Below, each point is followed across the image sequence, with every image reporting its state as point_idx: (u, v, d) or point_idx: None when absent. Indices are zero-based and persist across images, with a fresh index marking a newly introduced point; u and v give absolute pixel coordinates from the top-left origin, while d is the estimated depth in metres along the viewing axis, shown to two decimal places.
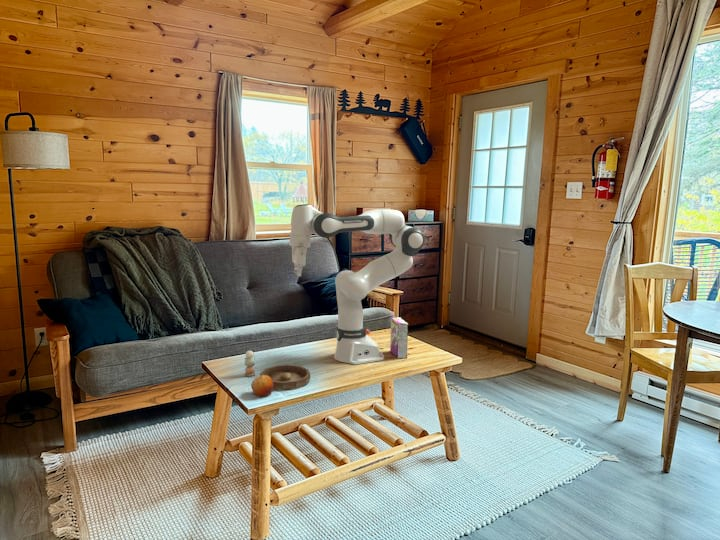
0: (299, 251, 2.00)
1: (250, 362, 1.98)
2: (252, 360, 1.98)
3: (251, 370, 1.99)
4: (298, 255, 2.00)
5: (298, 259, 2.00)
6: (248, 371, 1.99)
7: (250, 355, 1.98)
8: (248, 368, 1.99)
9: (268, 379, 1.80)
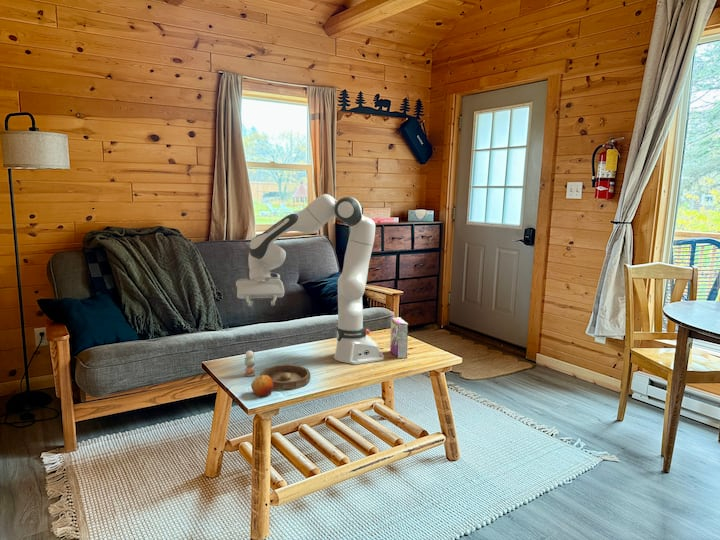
0: None
1: (250, 362, 1.98)
2: (252, 360, 1.98)
3: (251, 370, 1.99)
4: None
5: None
6: (248, 371, 1.99)
7: (250, 355, 1.98)
8: (248, 368, 1.99)
9: (268, 379, 1.80)
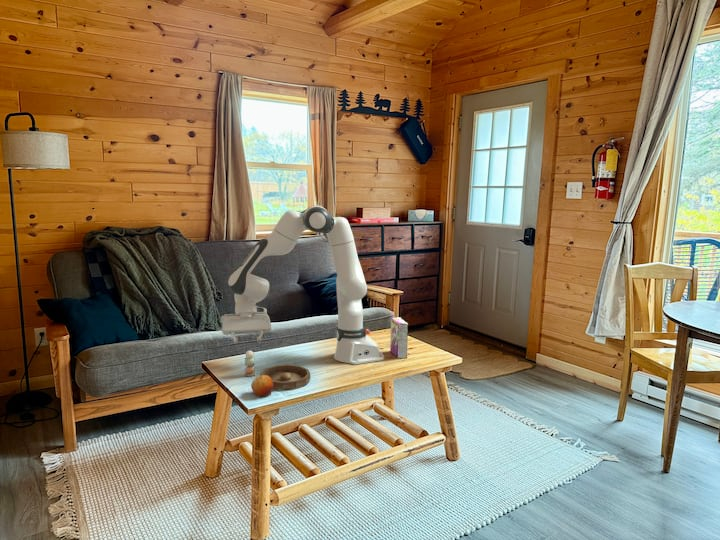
0: None
1: (250, 362, 1.98)
2: (252, 360, 1.98)
3: (251, 370, 1.99)
4: None
5: None
6: (248, 371, 1.99)
7: (250, 355, 1.98)
8: (248, 368, 1.99)
9: (268, 379, 1.80)
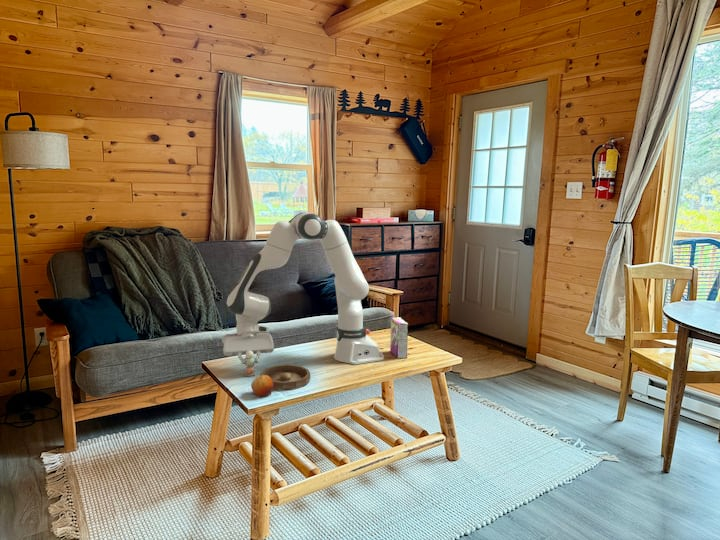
0: None
1: (250, 362, 1.98)
2: (252, 360, 1.98)
3: (251, 370, 1.99)
4: None
5: None
6: (248, 371, 1.99)
7: (250, 355, 1.98)
8: (248, 368, 1.99)
9: (268, 379, 1.80)
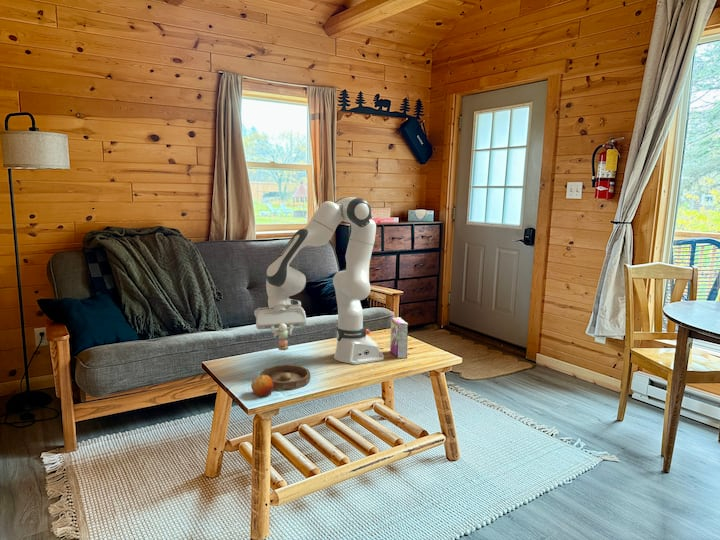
0: None
1: (284, 335, 1.97)
2: (285, 333, 1.97)
3: (285, 343, 1.98)
4: None
5: None
6: (282, 344, 1.97)
7: (283, 328, 1.97)
8: (281, 341, 1.97)
9: (268, 379, 1.80)
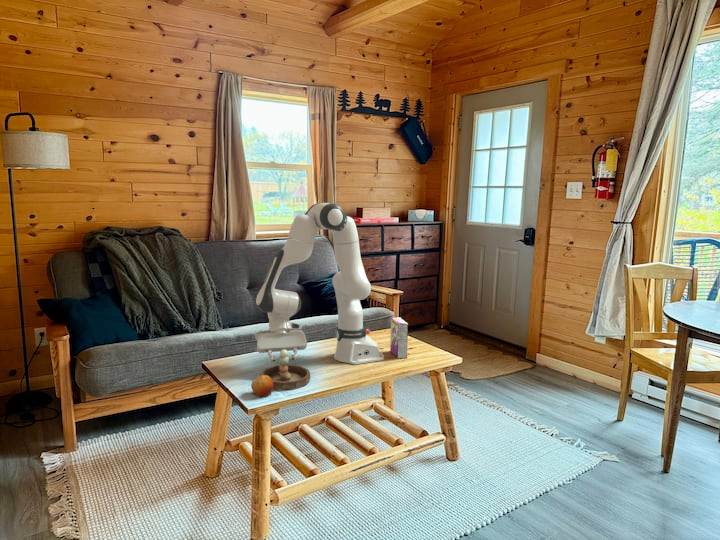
0: None
1: (284, 361, 1.98)
2: (286, 359, 1.99)
3: (285, 369, 1.99)
4: None
5: None
6: (282, 370, 1.99)
7: (285, 354, 1.98)
8: (282, 367, 1.99)
9: (268, 379, 1.80)
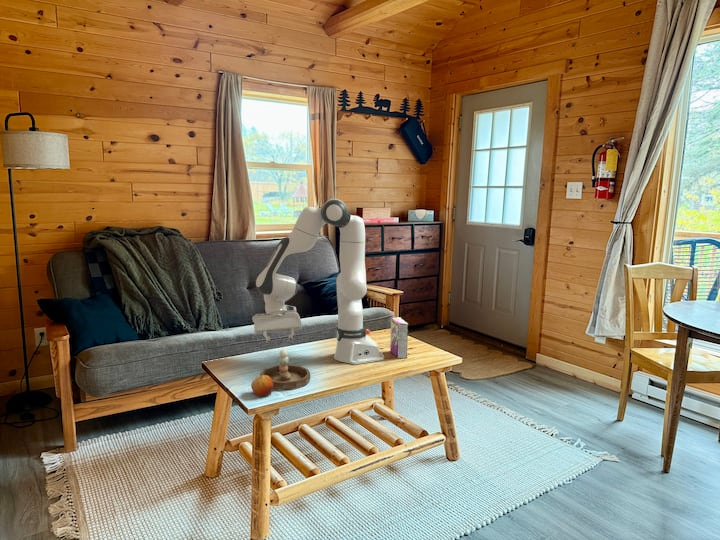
0: None
1: (284, 361, 1.98)
2: (286, 359, 1.99)
3: (285, 369, 1.99)
4: None
5: None
6: (282, 370, 1.99)
7: (284, 354, 1.98)
8: (282, 367, 1.99)
9: (268, 379, 1.80)
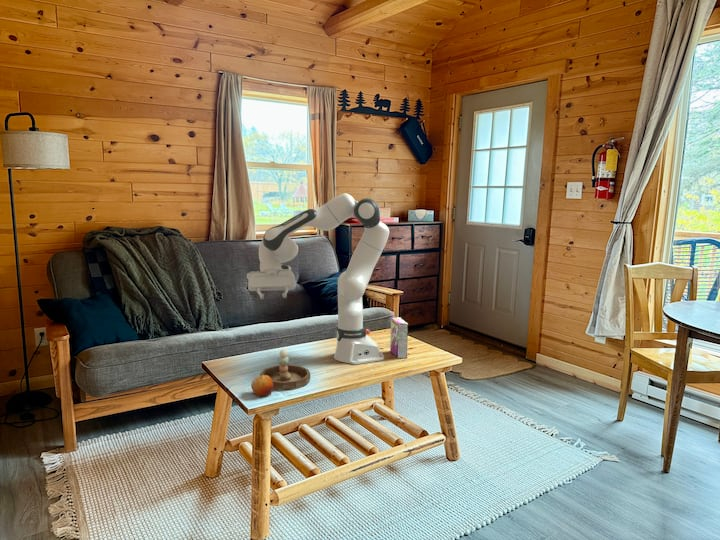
0: None
1: (284, 361, 1.98)
2: (286, 359, 1.99)
3: (285, 369, 1.99)
4: None
5: None
6: (282, 370, 1.99)
7: (284, 354, 1.98)
8: (282, 367, 1.99)
9: (268, 379, 1.80)
